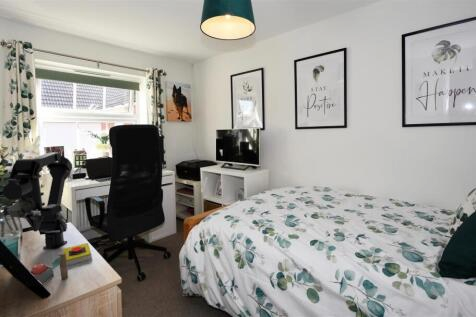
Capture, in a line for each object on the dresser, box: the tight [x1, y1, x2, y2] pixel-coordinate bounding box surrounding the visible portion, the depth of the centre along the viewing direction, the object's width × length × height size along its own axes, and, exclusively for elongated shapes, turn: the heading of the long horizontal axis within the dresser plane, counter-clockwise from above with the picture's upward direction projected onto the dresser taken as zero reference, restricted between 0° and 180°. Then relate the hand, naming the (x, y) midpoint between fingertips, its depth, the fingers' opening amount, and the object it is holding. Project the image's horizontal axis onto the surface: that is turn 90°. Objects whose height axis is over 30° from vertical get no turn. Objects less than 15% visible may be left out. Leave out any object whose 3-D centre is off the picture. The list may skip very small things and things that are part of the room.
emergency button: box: [62, 242, 94, 269], centre depth 105 cm, size 9×4×15 cm
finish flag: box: [51, 252, 69, 281], centre depth 88 cm, size 5×2×9 cm, turn 176°
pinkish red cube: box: [31, 263, 47, 275], centre depth 89 cm, size 4×4×4 cm
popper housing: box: [30, 265, 55, 285], centre depth 89 cm, size 5×5×4 cm
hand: (36, 231), depth 101 cm, fingers closed
